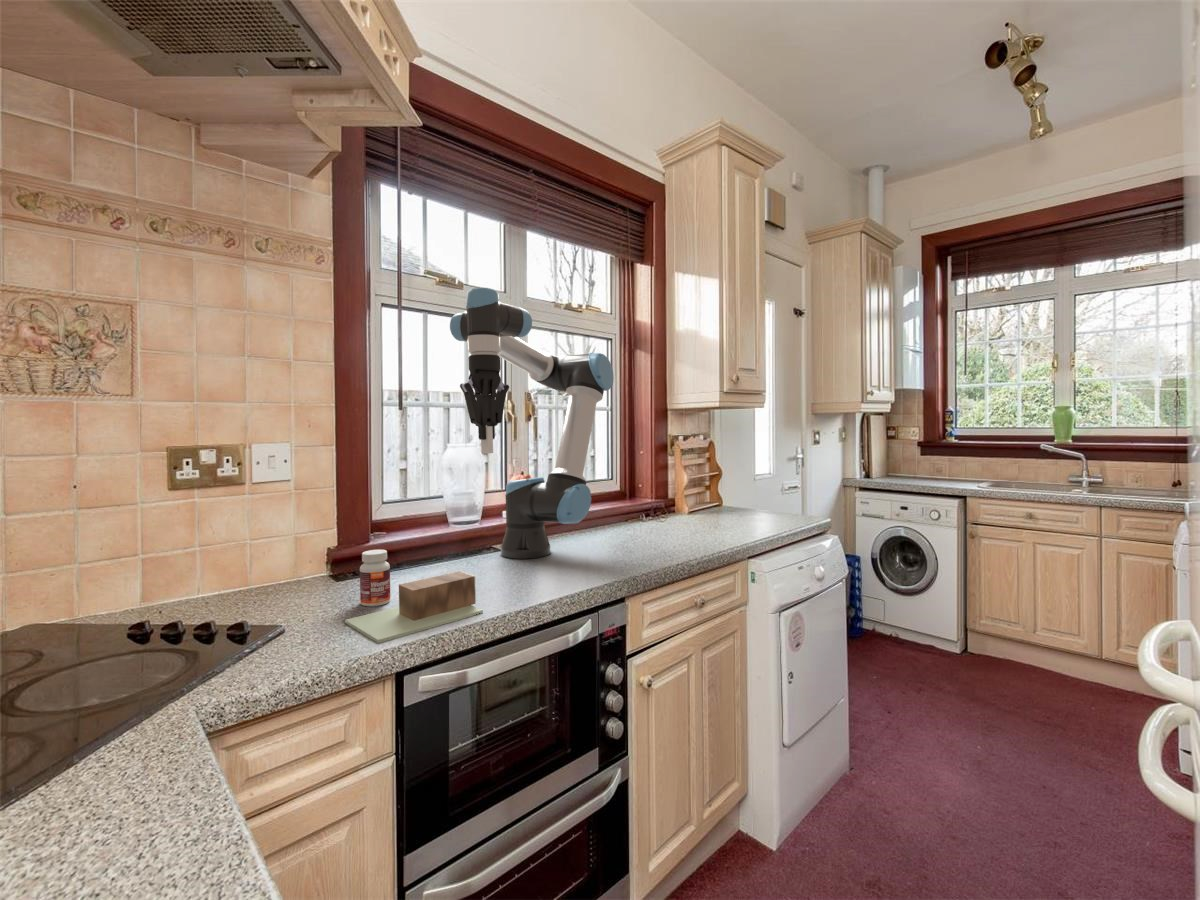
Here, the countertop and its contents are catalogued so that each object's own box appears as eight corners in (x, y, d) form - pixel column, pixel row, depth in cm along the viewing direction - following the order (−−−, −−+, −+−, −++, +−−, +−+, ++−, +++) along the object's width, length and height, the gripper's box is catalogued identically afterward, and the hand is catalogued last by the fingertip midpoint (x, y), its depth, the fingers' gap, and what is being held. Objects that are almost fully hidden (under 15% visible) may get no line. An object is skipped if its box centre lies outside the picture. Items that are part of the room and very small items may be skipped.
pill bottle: (372, 609, 115) (371, 556, 115) (354, 604, 118) (353, 553, 118) (396, 601, 121) (395, 550, 120) (378, 597, 124) (377, 547, 123)
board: (445, 597, 123) (445, 594, 123) (482, 612, 112) (482, 609, 112) (345, 622, 107) (345, 619, 107) (378, 643, 97) (378, 639, 97)
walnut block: (460, 571, 120) (398, 584, 110) (475, 576, 116) (412, 590, 106) (460, 597, 121) (399, 613, 110) (475, 603, 116) (413, 620, 106)
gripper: (496, 358, 137) (499, 451, 138) (451, 354, 128) (455, 454, 129) (515, 355, 132) (518, 452, 133) (470, 351, 122) (473, 455, 124)
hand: (487, 453), depth 131 cm, fingers closed
